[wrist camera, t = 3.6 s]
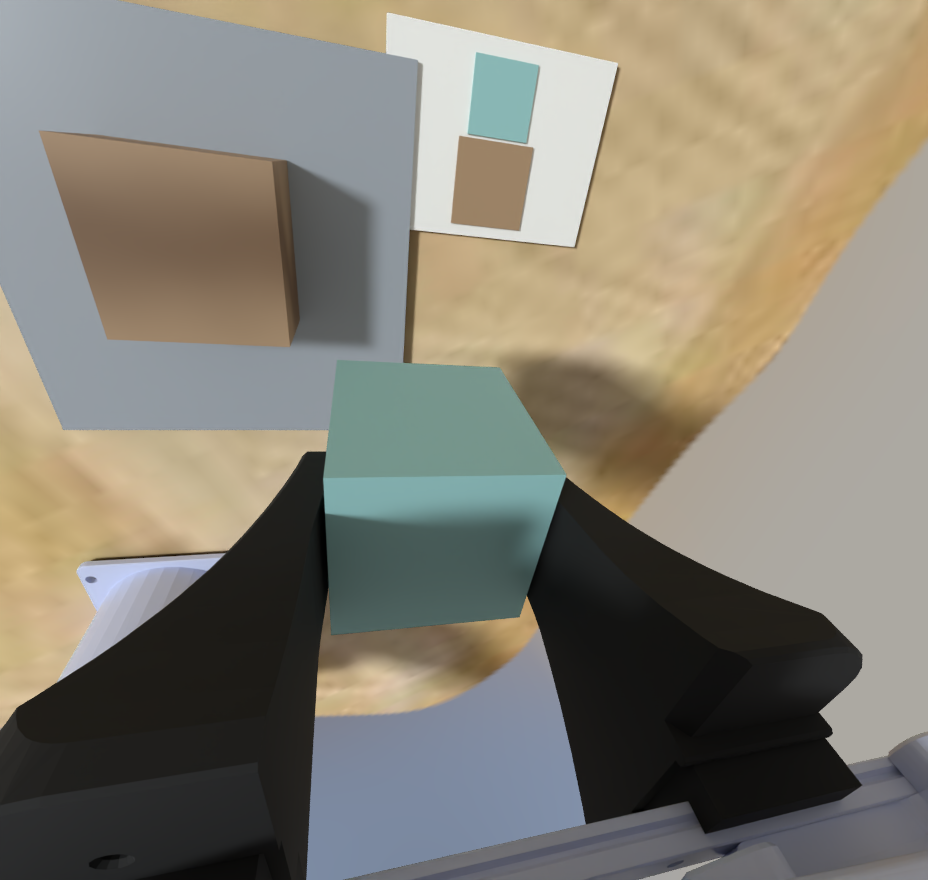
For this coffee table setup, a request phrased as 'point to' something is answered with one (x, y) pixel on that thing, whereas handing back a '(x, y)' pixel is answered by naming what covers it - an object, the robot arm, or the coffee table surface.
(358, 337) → the build plate
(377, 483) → the teal brick
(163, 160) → the walnut brick
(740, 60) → the coffee table surface
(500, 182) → the tile
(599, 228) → the coffee table surface
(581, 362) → the coffee table surface
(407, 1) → the coffee table surface
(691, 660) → the robot arm
